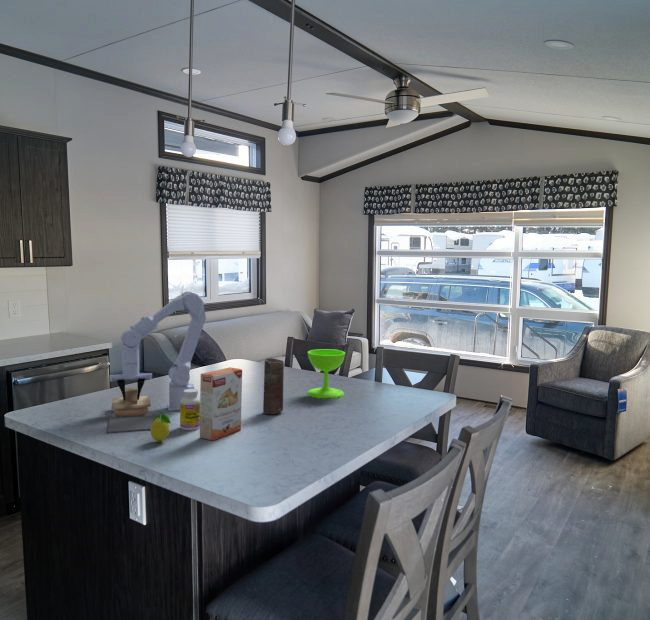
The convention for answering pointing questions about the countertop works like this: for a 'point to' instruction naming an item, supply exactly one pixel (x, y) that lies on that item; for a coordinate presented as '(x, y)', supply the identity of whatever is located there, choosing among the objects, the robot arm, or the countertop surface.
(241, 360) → the countertop surface
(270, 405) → the candle
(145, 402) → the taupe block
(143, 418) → the charcoal mat
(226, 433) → the cracker box
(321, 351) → the wineglass
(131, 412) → the terracotta dish
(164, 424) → the lemon
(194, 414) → the supplement bottle
